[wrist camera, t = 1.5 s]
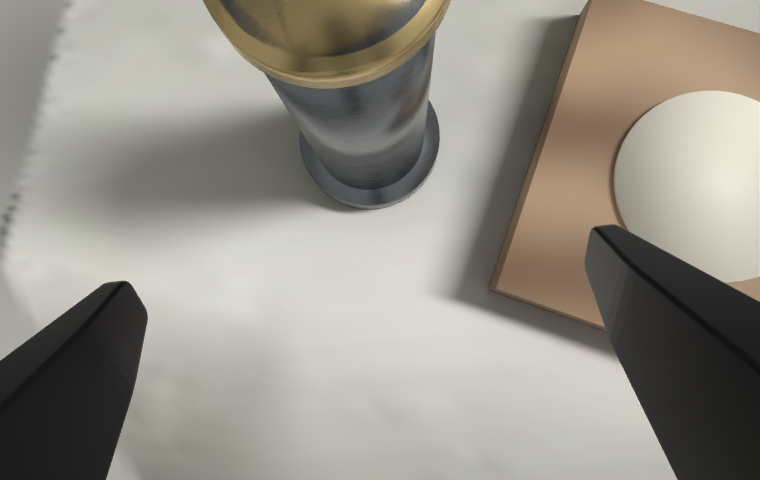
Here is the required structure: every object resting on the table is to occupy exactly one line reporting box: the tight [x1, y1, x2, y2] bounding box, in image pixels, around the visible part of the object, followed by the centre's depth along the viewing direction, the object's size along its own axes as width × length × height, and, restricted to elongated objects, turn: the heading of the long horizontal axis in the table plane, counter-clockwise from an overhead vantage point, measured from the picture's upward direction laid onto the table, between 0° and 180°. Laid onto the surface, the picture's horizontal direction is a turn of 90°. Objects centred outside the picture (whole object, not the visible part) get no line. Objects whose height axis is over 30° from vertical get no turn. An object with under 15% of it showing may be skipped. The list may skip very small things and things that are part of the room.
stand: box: [488, 0, 760, 331], centre depth 21 cm, size 14×14×2 cm
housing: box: [203, 0, 450, 209], centre depth 16 cm, size 6×6×13 cm
